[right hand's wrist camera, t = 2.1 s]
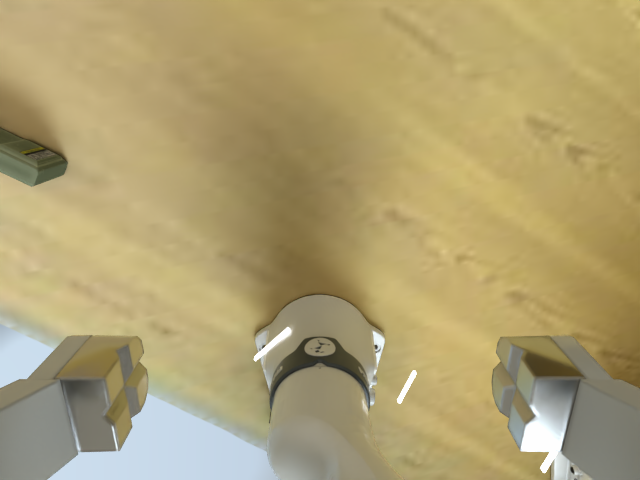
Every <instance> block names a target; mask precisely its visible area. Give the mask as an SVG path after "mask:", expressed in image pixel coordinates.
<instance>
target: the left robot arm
mask: <svg viewBox="0 0 640 480" xmlns="http://www.w3.org/2000/svg"><path fill="white" fill-rule="evenodd" d="M550 464H551V480H593V479H592V478H590V477H589V476H588V475H587V474H586V473H584V472H583V471H582V470H581V469H579V468H578V467H577V466H576V465H574V464H573V463H572V462H571V461H570V460H568V459H567V458H566V457H565V456H563V455H562V452H550V453H549V455H548V457H547V458H546V460H545V461H544V463H543V465H542V466H541V470H542V471H543V472H544V473H545V472H546V470H547V469H548V467H549V465H550Z"/></svg>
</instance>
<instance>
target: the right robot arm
mask: <svg viewBox="0 0 640 480" xmlns="http://www.w3.org/2000/svg"><path fill="white" fill-rule="evenodd" d="M255 343H256V347H257V350H258V354H257V355H256V356H255V358H254V360H255V361H256V360H258V359H259V358H260V361H261V364H262V367H263V371H264V374H265V378H266V381H267V385H268V388H269V391H270V408H271V414H270V421H269V423H270V427H269V434H268V441H267V455H268V460H269V463H270V466H271V468H272V470H273V472H274V473H275V475H276V477H277V478H278V480H404V479H403V478H402V477H401V476H400V475H399V474H398V473H397V472H396V471H395V470H394V469H393V468H392V466H391V465H390V464H389V463H388V462H387V460H386V459H385V458H384V456H383V455H382V453H381V452H380V450H379V448H378V446H377V444H376V441H375V438H374V434H373V431H372V426H371V422H370V417H369V408H370V405H371V406H372V405H374V401H375V390H374V389H372V385H376V384H377V375H375V374H376V371H377V368H378V364H379V361H380V357H381V354H382V350H383V347H384V344H385V336H384V334H383V332H381V331H380V330H379V329H377V328H376V327H374V326H372V325H370V324H369V323H368V322H367V321H366V319H365V318H364V317H363V315H362V314H361V313H360V311H359V310H358V309H357V308H355V307H354V306H353V305H352V304H350V303H349V302H347V301H345V300H343V299H340V298H338V297H334V296H329V295H311V296H306V297H302V298H300V299H297V300H295V301H293V302H291V303H290V304H288V305H287V306H286V307H285V308H283V309H282V310H281V311H280V313H279V314H278V315H277V317H276V318H275V319H274V321H273V322H272V323H271V324H270V325H268V326H266V327H265V328H263V329H261V330H260V331H259V332H257V334H256V336H255ZM263 345H265V347H264V346H263ZM375 345H377V346H376V347H375ZM143 354H144V350H143V345H142V340H141V339H140V338H139V337H138V336H104V335H95V336H93V335H72V336H68V337H66V338H65V339H64V341H63V342H62V343H61V344H60V345H59V346H58V347H57V348H56V349H55V350H54V351H53V352H52V353H51V354H50V355H49V356H48V357H47V358H46V360H45V361H44V362H43V363H42V364H41V365H40V366H39V367H38V368H37V369H36V370H35V371H34V372H33V373H32V374H31V375H30V376H29V377H28V379H19V380H17V381H15V382H13V383H10V384H8V385H6V386H4V387H2V388H0V480H47V479H48V478H50V477H51V476H52V475H53V474H55V473H56V472H57V471H58V470H60V469H61V468H62V467H63V466H64V465H66V464H67V463H68V462H69V461H71V460H72V459H73V458H74V457H76V456H77V455H78V452H102V451H120V449H121V448H122V446H123V444H124V442H125V440H126V438H127V436H128V434H129V432H130V430H131V429H132V422H131V418H132V417H133V416H135V415H136V414H138V413H139V412H140V411H141V409H142V407H143V405H144V403H145V400H146V396H147V391H148V374H147V369H146V368H145V367H144V366H143V365H142V364H141V363H140V362H139V360H140V358H141V357H142V355H143ZM496 354H497V355H498V357H499V358H500V360H501V362H500V363H499V364H498V365H497V366H496V367H495V368H494V369H493V375H492V391H493V397H494V400H495V403H496V405H497V407H498V409H499V411H500V412H501V413H502V414H504V415H505V416H507V417H508V418H509V422H508V429H509V430H510V432H511V434H512V436H513V438H514V440H515V442H516V444H517V446H518V447H519V449H520V451H536V452H562V455H563V456H565V457H566V458H567V459H568V460H570V461H571V462H572V463H573V464H574V465H576V466H577V467H578V468H579V469H581V470H582V471H583V472H584V473H586V474H587V475H588V476H589V477H590V478H592V479H593V480H640V388H638V387H636V386H634V385H632V384H629V383H627V382H625V381H623V380H621V379H613V378H612V377H611V376H610V375H609V374H608V373H607V372H606V371H605V370H604V369H603V368H602V367H601V366H600V365H599V364H598V363H597V362H596V360H595V359H594V358H593V357H592V356H591V355H590V354H589V353H588V352H587V351H586V350H585V349H584V348H583V347H582V346H581V345H580V344H579V343H578V341H577V340H576V339H575V338H574V337H572V336H569V335H550V336H519V337H500V339H499V341H498V344H497V350H496ZM415 375H416V372H415V371H414V370H413V372H412V374H411V376H410V377H409V379H408V381H407V383H406V385H405V387H404V389H403V390H402V392H401V394H400V396H399V398H398V403H401V401H402V399H403V397H404V396H405V394H406V392H407V390H408V388H409V386H410V385H411V383H412V381H413V379H414V377H415Z"/></svg>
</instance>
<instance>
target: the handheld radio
mask: <svg viewBox="0 0 640 480" xmlns="http://www.w3.org/2000/svg"><path fill="white" fill-rule="evenodd" d="M66 167H67V162H66V161H65V160H64V159H63V158H62V157H61V156H59V155H57V154H55V153H53V152H51V151H49V150H47V149H45V148H43V147H41V146H39V145H37V144H35V143H33V142H31V141H29V140H26V139H25V140H24V139H22V138H20V137H18V136H16V135H13V134H11V133H9V132H7V131H5V130H3V129H1V128H0V172H1V173H4V174H6V175H8V176H10V177H12V178H14V179H16V180H18V181H21V182H23V183H25V184H27V185H29V186H35V185H38V184H40V183H43V182H46V181H49V180H51V179H54V178H57V177H59V176H62V175H64V173H65V170H66Z"/></svg>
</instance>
